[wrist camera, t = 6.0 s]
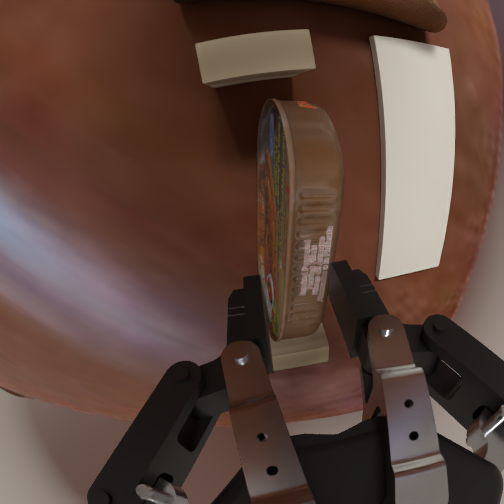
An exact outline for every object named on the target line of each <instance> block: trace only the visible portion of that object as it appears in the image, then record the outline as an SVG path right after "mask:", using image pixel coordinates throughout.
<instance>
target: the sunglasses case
mask: <svg viewBox="0 0 504 504" xmlns="http://www.w3.org/2000/svg"><path fill="white" fill-rule="evenodd" d="M174 1H175V2H176V3H181V2H190V1H202V0H174ZM305 1H312V2H320V3H327V4H334V5H339V6H343V7H348V8H352V9H358V10H362V11H365V12H369V13H373V14H377V15H380V16H384V17H387V18H390V19H394V20H397V21H399V22H402V23H404V24H407V25H410V26H413V27H416V28H419V29H422V30H425V31H428V32H434V33H436V32H440V31H441V30H443V29H444V28H445V26H446V23H447V19H446V16H445V14H444V12H443V11H442V10H441V9H440V6H439V4H438V1H437V0H305Z"/></svg>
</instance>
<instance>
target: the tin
mask: <svg viewBox="0 0 504 504" xmlns="http://www.w3.org/2000/svg"><path fill="white" fill-rule="evenodd" d="M343 182H344V176H343V161H342V153H341V148H340V143H339V139H338V136H337V133H336V130H335V127H334V125H333V123H332V121H331V119H330V117H329V115H328V114H327V113H326V112H325V111H324V110H323V109H322V108H320V107H319V106H317V105H316V104H314V103H311V102H306V101H289V100H277V99H275V98H269V99H267V100H266V102H265V103H264V106H263V109H262V112H261V116H260V121H259V127H258V139H257V255H258V271H259V274H260V277H261V282H262V287H263V293H264V298H265V304H266V310H267V318H268V327H269V333H270V336H271V338H272V340H273V341H274V342H279V341H280V340H285V339H292V338H298V337H304V336H308V335H311V334H313V333H315V332H316V331H317V329H318V328H319V326H320V324H321V322H322V319H323V316H324V311H325V307H326V301H327V297H328V292H329V263H332V262H334V259H335V252H336V245H337V239H338V231H339V224H340V217H341V208H342V200H343Z"/></svg>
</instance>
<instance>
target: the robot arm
mask: <svg viewBox="0 0 504 504" xmlns="http://www.w3.org/2000/svg"><path fill="white" fill-rule="evenodd" d="M243 280H244V289H238V290H233V292H232V293H231V295H230V297H229V299H228V325H227V346H226V347H225V349H224V350H223V352H222V354H221V356H220V357H219V358H217V359H216V360H214V361H212V362H209V363H206V364H204V365H201V366H198V365H197V364H195V363H194V362H191V361H181V362H178V363H175V364H173V365H172V366H171V367H170V368H169V369H168V370H167V371H166V373H165V374H164V376H163V377H162V379H161V380H160V382H159V383H158V385H157V387H156V388H155V390H154V391H153V393H152V394H151V396H150V397H149V399H148V400H147V402H146V403H145V405H144V406H143V408H142V409H141V411H140V412H139V414H138V415H137V417H136V418H135V420H134V421H133V423H132V424H131V426H130V428H129V429H128V431H127V432H126V434H125V435H124V437H123V438H122V440H121V441H120V443H119V445H118V446H117V447H116V449H115V450H114V452H113V453H112V455H111V456H110V458H109V460H108V461H107V463H106V464H105V466H104V467H103V469H102V470H101V472H100V473H99V475H98V476H97V478H96V480H95V481H94V483H93V484H92V486H91V487H90V489H89V491H88V495H87V499H88V504H188V497H187V494H186V493H185V492H184V490H183V489H182V488H181V487H182V485H183V483H184V481H185V479H186V478H187V476H188V474H189V472H190V470H191V469H192V467H193V465H194V463H195V461H196V459H197V458H198V456H199V454H200V452H201V450H202V448H203V446H204V445H205V443H206V441H207V439H208V437H209V435H210V433H211V431H212V429H213V427H214V425H215V423H216V421H217V419H218V418H219V416H220V413H223V412H226V411H228V410H229V413H230V418H231V423H232V427H233V431H234V436H235V440H236V444H237V448H238V452H239V456H240V461H241V464H242V467H241V469H240V470H239V471H238V472H237V474H236V475H235V476H234V477H233V479H232V480H231V481H230V482H229V483H228V485H227V486H226V487H225V488H224V489H223V490H222V492H221V493H220V494H219V495H218V496H217V497H216V499H215V500H214V501H213V502H212V503H211V504H500V500H501V496H502V491H503V478H502V475H501V472H502V470H503V469H504V361H503V360H502V359H500V358H499V357H498V356H497V355H496V354H494V353H493V352H492V351H491V350H489V349H488V348H487V347H486V346H484V345H483V344H482V343H481V342H479V341H478V340H477V339H475V338H474V337H473V336H471V335H470V334H469V333H467V332H466V331H465V330H464V329H462V328H461V327H459V326H458V325H457V324H456V323H454V322H453V321H452V320H450V319H449V318H447V317H445V316H443V315H431V316H429V317H428V318H427V319H426V320H425V321H424V324H423V325H408V324H402V322H401V321H400V320H399V319H398V318H397V317H395V316H393V315H389V313H388V311H387V309H386V307H385V306H384V304H383V302H382V300H381V299H380V297H379V295H378V293H377V292H376V291H375V288H374V286H373V285H372V283H371V281H370V280H369V278H368V276H367V275H366V274H365V273H363V272H362V271H360V270H359V269H357V270H351V268H350V266H349V264H348V262H347V261H346V260H343V261H337V262H332V263H329V296H330V301H331V304H332V306H333V309H334V312H335V315H336V317H337V320H338V323H339V325H340V328H341V331H342V334H343V336H344V339H345V342H346V345H347V348H348V351H349V354H350V356H351V358H354V357H358V356H359V359H360V362H361V364H360V379H361V388H362V399H363V415H362V422H361V423H359V424H357V425H355V426H353V427H351V428H349V429H348V430H345V431H344V432H341V433H339V434H335V435H328V434H327V435H326V434H300V435H294V436H290V435H289V432H288V429H287V426H286V424H285V421H284V418H283V415H282V412H281V409H280V406H279V404H278V401H277V398H276V396H275V394H274V392H273V389H272V386H271V383H270V380H269V375H268V373H274V370H273V361H272V353H271V344H270V335H269V327H268V318H267V310H266V304H265V298H264V293H263V287H262V282H261V277H260V274H259V275H253V276H247V277H244V278H243ZM441 360H443V361H444V362H445V363H446V364H448V365H449V366H450V367H451V368H452V369H454V370H455V371H456V372H457V373H458V374H459V375H460V376H461V377H460V376H459V375H458V374H457V373H456V372H454V371H453V370H452V369H451V368H450V367H449V366H447V365H446V364H445V363H444V362H443V361H441ZM430 396H431V397H432V398H433V399H434V400H435V401H436V402H438V403H439V404H440V405H441V406H442V407H443V408H444V409H445V410H446V411H447V412H448V413H449V414H450V415H451V416H453V417H454V418H455V419H456V420H457V421H458V422H459V423H460V424H461V425H462V426H463V427H464V428H465V429H466V430H467V438H466V444H467V445H468V446H470V447H472V449H473V451H474V453H472V452H471V451H469V450H467V449H465V448H464V447H462V446H460V445H458V444H456V443H454V442H453V441H451V440H449V439H447V438H446V437H444V436H442V435H441V434H439V433H437V431H436V425H435V419H434V414H433V409H432V405H431V400H430Z"/></svg>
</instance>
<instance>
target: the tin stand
mask: <svg viewBox="0 0 504 504" xmlns="http://www.w3.org/2000/svg"><path fill="white" fill-rule="evenodd" d="M195 46H196V51H197V57H198V62H199V67H200V72H201V77H202V82H203V84H205V85H208V86H210V87H213V88H218V87H224V86H229V85H234V84H240V83H247V82H253V81H260V80H268V79H277V78H287V77H293V76H296V75H299V74H301V73H304V72H307V71H310V70H313V69H316V66H315V60H314V54H313V49H312V43H311V38H310V33H309V29H302V30H282V31H270V32H260V33H252V34H245V35H238V36H232V37H226V38H220V39H215V40H210V41H206V42H201V43H197V44H195ZM269 335H270V333H269ZM270 344H271V353H272V361H273V370H274V371H275V370H282V369H288V368H294V367H300V366H306V365H311V364H317V363H322V362H326V361H328V357H329V344H328V341H327V337H326V334H325V331H324V327H323V324H322V322H321V324H320V326H319V328H318V329H317V331H316V332H315V333H313V334H311V335H308V336H304V337H298V338H292V339H285V340H280V341H279V342H274V341H273V340H272V338H271V336H270Z"/></svg>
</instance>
